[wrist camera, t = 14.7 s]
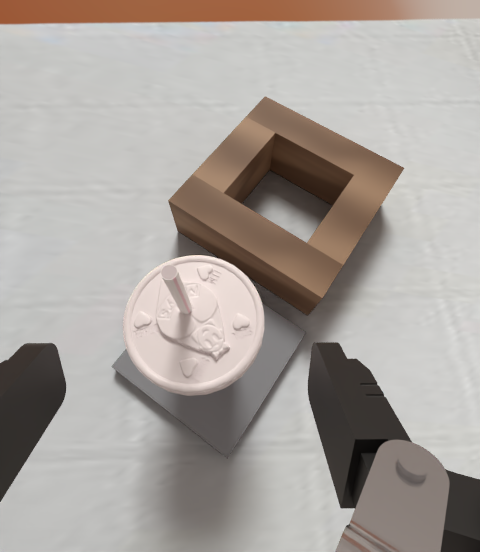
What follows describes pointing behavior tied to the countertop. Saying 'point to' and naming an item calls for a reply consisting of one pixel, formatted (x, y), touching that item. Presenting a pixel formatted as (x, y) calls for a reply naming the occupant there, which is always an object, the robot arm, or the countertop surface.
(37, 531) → the countertop surface
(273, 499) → the countertop surface
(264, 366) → the slate coaster
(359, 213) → the frame
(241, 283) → the smoothie
